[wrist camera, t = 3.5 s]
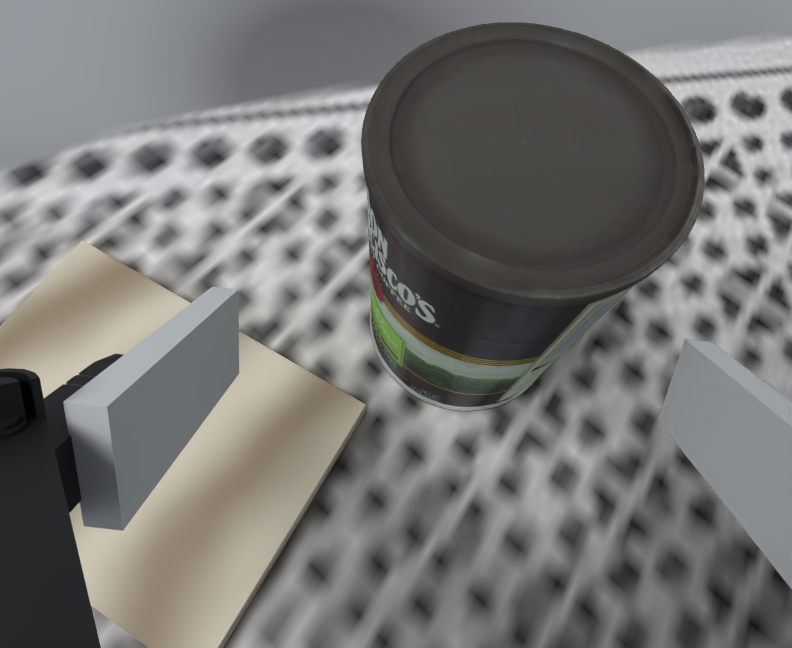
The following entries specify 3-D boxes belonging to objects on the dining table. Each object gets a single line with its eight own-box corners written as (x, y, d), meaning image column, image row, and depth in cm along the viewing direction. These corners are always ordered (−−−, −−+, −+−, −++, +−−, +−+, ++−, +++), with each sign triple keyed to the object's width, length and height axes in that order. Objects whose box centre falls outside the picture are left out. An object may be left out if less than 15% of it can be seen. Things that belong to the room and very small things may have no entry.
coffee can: (399, 437, 26) (420, 339, 13) (349, 264, 29) (325, 49, 16) (585, 383, 27) (777, 244, 14) (515, 224, 31) (615, -3, 18)
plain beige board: (366, 411, 26) (365, 404, 25) (208, 673, 22) (196, 682, 20) (96, 254, 29) (82, 240, 28) (-92, 455, 25) (-120, 450, 23)
